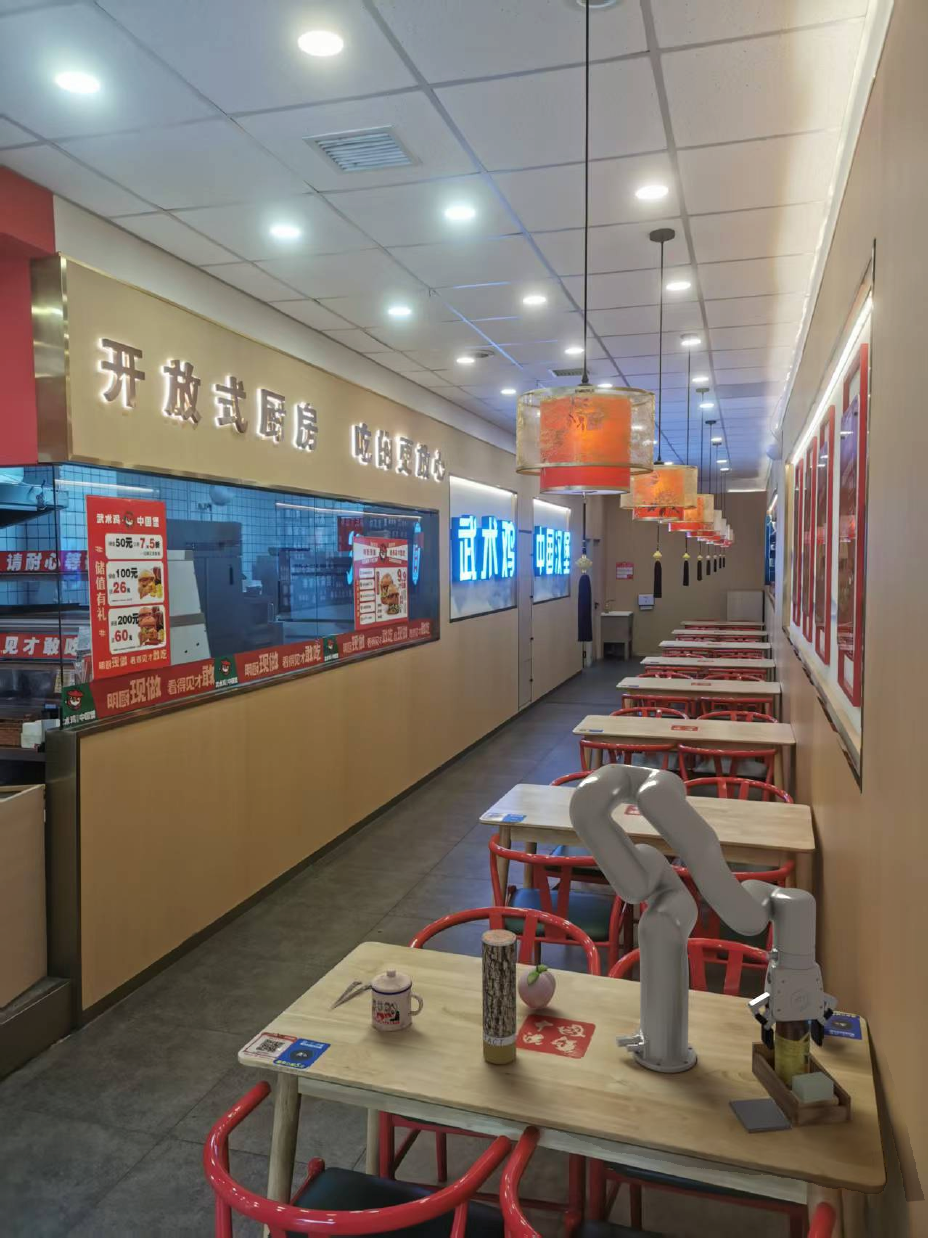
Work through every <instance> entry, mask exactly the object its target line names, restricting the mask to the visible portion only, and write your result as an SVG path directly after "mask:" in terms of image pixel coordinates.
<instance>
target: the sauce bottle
mask: <svg viewBox="0 0 928 1238" xmlns="http://www.w3.org/2000/svg"><path fill="white" fill-rule="evenodd" d="M810 1039H811V1033H810V1026H809V1023H808V1021H807V1020H802V1021H787V1022H780V1021H776V1022H775V1030H774V1040H775V1073H776V1074H777V1075H778V1077H779V1078H780V1079H781V1080H782V1082H783V1083H784V1084H785V1085H786V1087H787V1088H788V1089H789V1090H790V1091H791V1090H792V1076H797V1075H803V1074H809V1073H810V1053H811V1040H810Z"/></svg>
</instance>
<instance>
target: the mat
mask: <svg viewBox="0 0 928 1238" xmlns="http://www.w3.org/2000/svg"><path fill="white" fill-rule="evenodd" d="M728 1105H729V1106H730V1108H731V1109H732V1111H733V1112H734V1114H735V1115H736V1117H737V1119H738V1120H739V1121H740V1123H741V1124H742V1125H743V1127H744V1128H745V1130H746V1132H747V1133H751V1132H754V1133H755V1132H766V1131H777V1130H778V1131H779V1130H787V1129H788V1130H789V1129H792V1123H791V1122H790V1121H789V1119H788V1118H787V1117H786V1115H785V1114H784V1113H783V1112H782V1110H781V1109H780V1108H779V1106H778V1105H777V1104H776V1102H775V1101H774V1100H773V1098H772V1097H767V1098H765V1097H764V1098H757V1099H756V1098H754V1099H752V1098H751V1099H743V1100H742V1099H740V1100H731V1101H728Z"/></svg>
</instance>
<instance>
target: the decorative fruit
mask: <svg viewBox="0 0 928 1238" xmlns="http://www.w3.org/2000/svg"><path fill="white" fill-rule="evenodd" d="M548 969H549V967H548V966H547V965H545V964H539V965H536V967H532V968H528V969H527V970H524V971H523V972H522V974H521V975H520V977H519V978H518V981H517V985H516V989H517V993H518V995H519V998H520V999H521V1001H523V1003H524V1004H525V1005H526V1006H527V1007H529V1008H530V1009H534V1010H541V1009H544V1008H545V1007H546V1006H548V1005H549V1004H550V1002H551V1000H552V998H553V996H554V994H555V991H556V987H557V982H556V979H555V977H554V975H553V974H552V972H551V971H550V970H548Z"/></svg>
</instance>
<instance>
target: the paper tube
mask: <svg viewBox="0 0 928 1238" xmlns="http://www.w3.org/2000/svg"><path fill="white" fill-rule="evenodd" d="M516 937H517V936H516V934H515V932H513V931H510V930H508V929H507V930H506V929H490V930H487V931H485V932H484V933H483V934H482V935H481V954H482V955H481V961H482V962H481V966H482V967H481V970H482V971H481V973H482V976H481V977H482V978H481V979H482V980H481V982H482V985H481V986H482V989H481V990H482V994H481V995H482V1055H483V1058H484V1059H485V1061H487V1062H489V1063H491V1064H494V1065H506V1064H509V1063H511V1062H513V1061H514V1060H515V1058H516V1057H517V938H516Z"/></svg>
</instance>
